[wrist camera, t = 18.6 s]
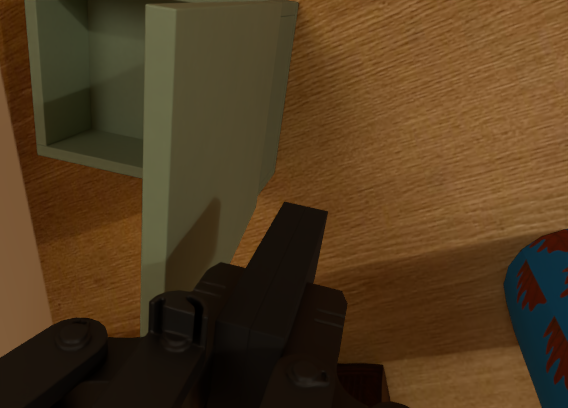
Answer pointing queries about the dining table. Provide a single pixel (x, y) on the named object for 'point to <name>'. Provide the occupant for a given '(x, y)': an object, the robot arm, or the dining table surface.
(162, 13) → the chest lid
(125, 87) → the chest
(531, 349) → the thermos
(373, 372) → the manual coffee grinder
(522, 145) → the dining table surface
